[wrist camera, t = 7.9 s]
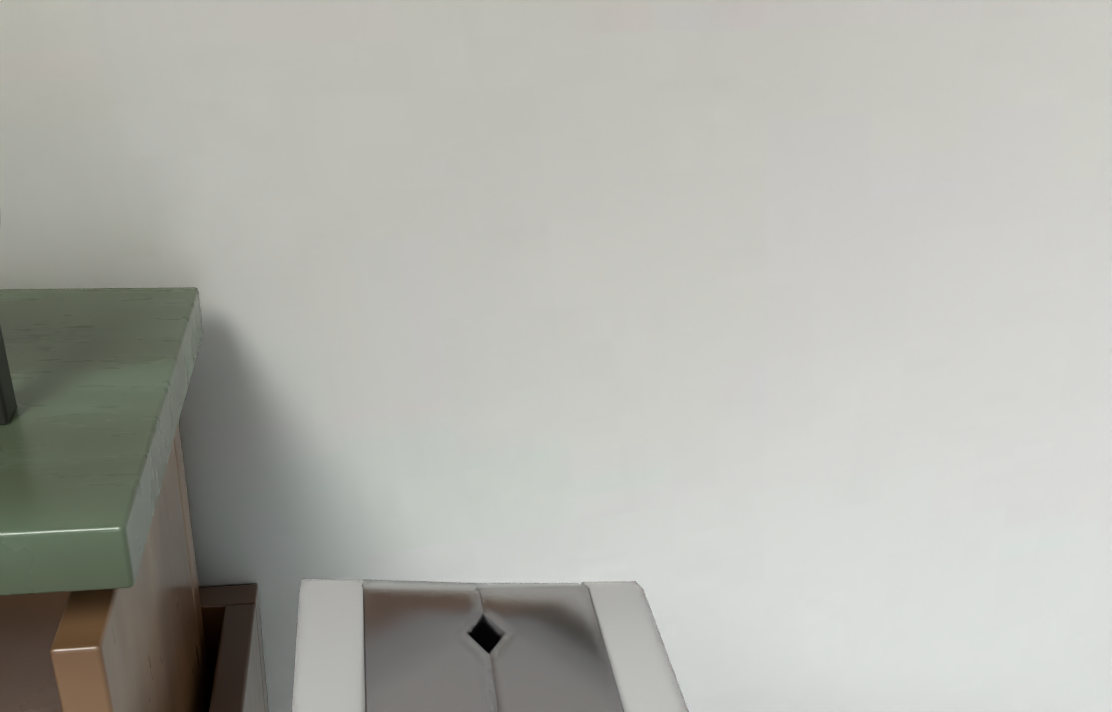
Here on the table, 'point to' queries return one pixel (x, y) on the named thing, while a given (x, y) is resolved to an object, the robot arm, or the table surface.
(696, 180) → the table surface
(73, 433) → the drawer
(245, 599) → the cabinet
